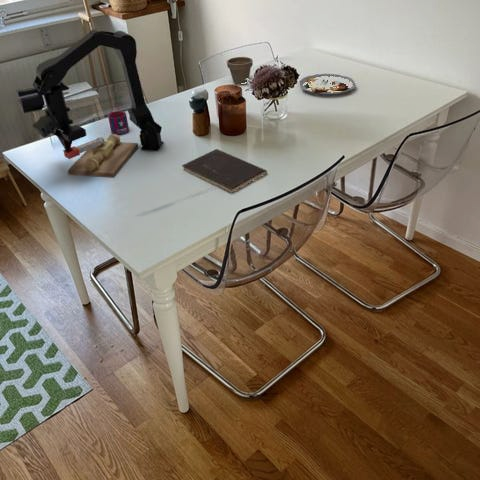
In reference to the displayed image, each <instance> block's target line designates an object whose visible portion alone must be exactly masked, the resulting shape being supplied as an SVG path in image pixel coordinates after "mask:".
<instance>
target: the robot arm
mask: <svg viewBox="0 0 480 480" xmlns="http://www.w3.org/2000/svg"><path fill="white" fill-rule="evenodd" d="M100 46H102V47H107V48H110V49H113V50H114V52H115V54H116V56H117V58H118V60H119V61H120V63H121V67H122V70H123V74H124V75H123V76H124V78H125V83H126V87H127V90H128V93H129V99H130V102H131V107H130V108H128V109H126V110H127V113H128V115H129V121H131V122H132V123H133V124H134V125H135V126H136V127H137V128H139V130H140V132H139V141H140V145H141V147H140V150H141V151H156V152H157V151H159V150H160V148H161V147H162V146H163V144H164V143H165V142H164V141H162V137H161V136H162V135H161V133H162V126H161V125H160V124H159V123H157V122H156V121H155V120H154V119H155V118H154V117H153V115H152V112H151V110H150V109H149V107H148V105H147V104H146V100H145V97H144V91H143V87H142V83H141V80H140V79H141V78H140V76H139V75H140V74H139V70H138V67H137V66H138V65H137V62H136V60H137V53H138V52H137V51H138V49H137V41H136V39H135V37H134V36H133V35H131V34H128V33H127V32H125V31H122V30H117V31H115V32H112V31H108V30H107V31H106V30H99V29H96V28H95V29H91V30H90V31H89V32H88V34H86V35H85V36H84V37H82V38H80V39H79V40H77V42H75V43H74V44H73V45H72V46H70V47H69V48H68V49H66V50H65V51H64V52H62V53H61V54H59V55H58V56H55V57H51V58H49V59H47V60H45V61H43V62H41V63H39V64H38V65H37V66H36V71H35V73H36V76H35V78H34V81H33V83H32V87H31V88H30V87H29V88H25V89H18V90H16V94H17V95H16V96H17V104H18V106H19V108H20V111H21V112H22V114H23V115H25V114H29V113H33V112H34V113H35V112H37V111H42V110H43V109H44V108H45V106H46V109H44V115H42V116H40V117H39V119H38V120H37V121H35V123H33V124H32V127H33V128H32V129H34V131H35V132H36V133H37V135H39V136H41V137H42V138H46V137H48V136H49V135H50V134H52V135H54V136H56V138H58V140H59V142H60V144H61V145H62V147H63V148H64V150H66V149H68V148H71V147H72V143H73V142H74V141H77V140H79V139H82V138H84V137H86V136H87V132H86V131H87V130H86V129H85V128H84V127H81V126H80V125H77V124H75V125H73V123H74V121H73V119H71V118H70V116H69V112H70V111H71V108H70V106H67V103H66V100H65V95H64V91H68V90H69V89H70V87H69V86H68V85H67V84H66V83H63V82H62V81H63V80H64V78H65V77H66V76H67V73H68V72H69V70H70V69H72V67H74V66H75V65H76V64H78V63H79V62H80V61H81V60H83V59H84V58H86V57H87V56H88V55H90V54H91V53H92V52H93V51H96V49H97V48H98V47H100Z"/></svg>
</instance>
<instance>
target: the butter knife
mask: <svg viewBox="0 0 480 480" xmlns="http://www.w3.org/2000/svg"><path fill="white" fill-rule="evenodd" d="M216 187H217V186H216V185H212V186H209V187H206V188H204V189H203V188H202V189H201V190H198V191H196V192H194V193H191V194H189V195H188V196H184V197H182V198H179V199H178V200H177V201H178V202H182V201H185V200H187V199H190V198H193V197H197V196H200V195H204V194H206V193H209V192H210V191H209V190H212V189H215V190H216V189H217V188H216ZM208 191H209V192H208ZM212 191H213V190H212Z"/></svg>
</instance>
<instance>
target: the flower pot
mask: <svg viewBox="0 0 480 480" xmlns="http://www.w3.org/2000/svg"><path fill="white" fill-rule="evenodd" d="M253 61H254V60H253V59H252V57H248V56H247V57H246V56H236V57H232V58H230V59H227V60H226V66H227V68H228V69H229V71H230V76H231V80H232V82H233V84H234V83H236V84H241V83H245V82H247V80H245V78H249V79H250V74H251V68H252V67H253V65H254V64H253ZM236 84H235V85H236Z"/></svg>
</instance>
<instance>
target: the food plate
mask: <svg viewBox="0 0 480 480" xmlns="http://www.w3.org/2000/svg"><path fill="white" fill-rule="evenodd" d="M321 76H328V77H330V76H333V77H334V76H335V77H341V78H344V79H348V80H349V82H350V81H351V82H352V83H353V84H352V85H353V86H352V87H351V88H348V86H346V84H344V83H340V82H339V83H338V84H339V85H337V86H338V87H339V88H337V86H333V87H336V88H333V87H330V89H325V87H322V88H323V89H322V88H319V87H315V88H314V87H309V85H308V83H309V84H310V85H311V82H310V81H312V82H314V81H316V80H318V79H314V78H316V77H321ZM305 82H308V83H307V84H306V85H304V86H303V84H304V83H305ZM327 82H328V80H327ZM330 84H331V83H330ZM333 84H335V81H334V82H332V85H333ZM299 85H300V89H301V90H302V91H304V92H308V93H310V94H317V95H338V94H339V95H340V94H343V93H349V92H351V91H353V90H354V89H356V88H357V87H356V86H357V85H356V83H355V81H354V79H353V78H352V77H349V76H345V75H341V74H337V73H321V74H319V73H317V74H313V75H308V76H307V75H306V76H305V77H302V78H301V79H300V80H299ZM317 85H318V84H317ZM320 85H322V84H320ZM311 86H312V85H311ZM308 88H311V90H312V91H310V90H307V89H308ZM328 90H332V91H341V92H333V93H331V92H327V91H328Z"/></svg>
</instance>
